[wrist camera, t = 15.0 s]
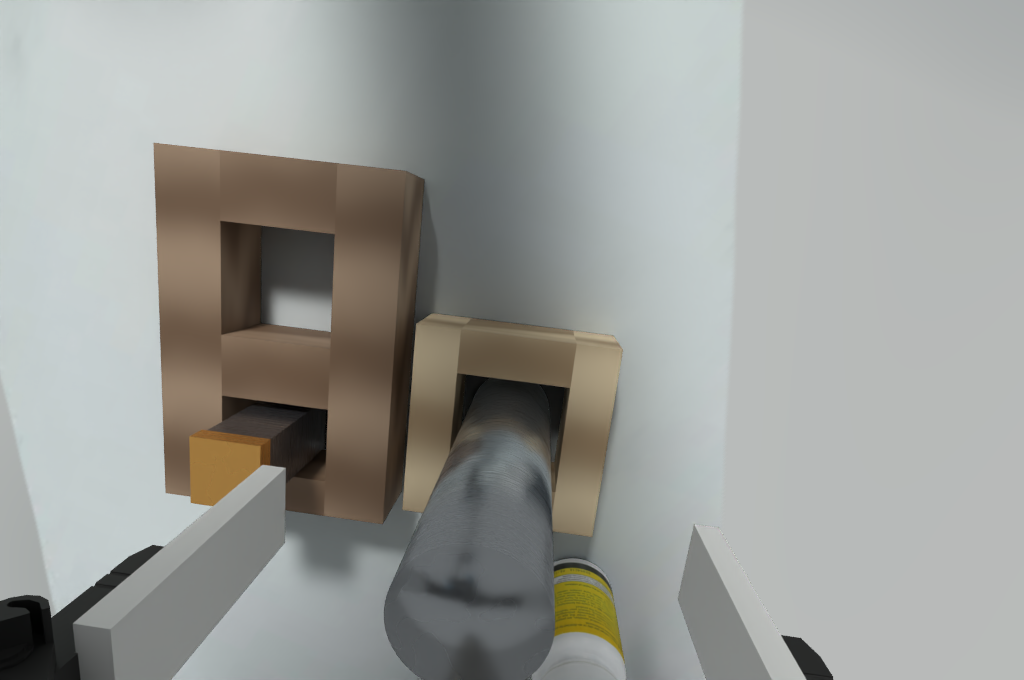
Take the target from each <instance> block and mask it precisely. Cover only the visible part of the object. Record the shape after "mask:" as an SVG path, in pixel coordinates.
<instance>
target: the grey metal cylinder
mask: <svg viewBox="0 0 1024 680" xmlns="http://www.w3.org/2000/svg"><path fill="white" fill-rule="evenodd" d="M384 623H385V629H386V632H387V636H388V639H389V641H390V643H391V645H392V648H393V649H394V651H395V652H396V654H397V656H398V657H399V658H400V659H401V661H402V662H403V663H404V664H405V665H406V666H407V667H408V668H409V669H410V670H411V671H412V672H413V673H415V674H416V675H417V676H419V677H420V678H421V679H423V680H526V679H527V678H529V677H530V676H531V675H532V674H533V673H534V672H536V671H537V670H538V668H539V667H540V666H541V665H542V663H543V662H544V661H545V659H546V657H547V656H548V654H549V651H550V649H551V646H552V643H553V639H554V634H555V601H554V563H553V525H552V487H551V449H550V411H549V402H548V399H547V396H546V394H545V392H544V391H543V389H542V388H541V387H540V385H539V384H537V383H529V382H521V381H513V380H506V379H498V378H489V379H488V380H486V381H485V382H484V383H483V384H482V385H481V386H480V387H479V389H478V390H477V392H476V394H475V396H474V399H473V401H472V403H471V405H470V408H469V410H468V412H467V414H466V417H465V419H464V421H463V423H462V426H461V428H460V430H459V433H458V435H457V437H456V439H455V442H454V444H453V446H452V448H451V451H450V453H449V455H448V457H447V460H446V462H445V464H444V466H443V469H442V471H441V473H440V475H439V478H438V480H437V482H436V484H435V487H434V489H433V491H432V493H431V496H430V498H429V500H428V503H427V505H426V507H425V509H424V512H423V514H422V516H421V518H420V521H419V523H418V525H417V527H416V530H415V532H414V534H413V536H412V539H411V541H410V543H409V545H408V548H407V550H406V552H405V554H404V557H403V559H402V561H401V563H400V566H399V568H398V570H397V573H396V575H395V577H394V579H393V582H392V584H391V586H390V588H389V591H388V594H387V597H386V600H385V607H384Z"/></svg>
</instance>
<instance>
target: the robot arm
mask: <svg viewBox="0 0 1024 680" xmlns="http://www.w3.org/2000/svg"><path fill="white" fill-rule="evenodd" d="M285 482H286V468H283V467H276V466H268V465H262V466H260V467H259V468H258V469H257V470H256V471H254V472H253V473H252V474H251V475H250V476H249V477H247V478H246V479H245V480H244V481H243V482H241V483H240V484H239V485H238V486H237V487H235V488H234V489H233V490H232V491H231V492H229V493H228V494H227V495H226V496H225V497H223V498H222V499H221V500H220V501H219V502H217V503H216V504H215V505H214V506H213V507H211V508H210V509H209V510H208V511H207V512H205V513H204V514H203V515H202V516H201V517H199V518H198V519H197V520H196V521H195V522H193V523H192V524H191V525H190V526H189V527H188V528H186V529H185V530H184V531H183V532H182V533H180V534H179V535H178V536H177V537H176V538H174V539H173V540H172V541H171V542H170V543H168V544H167V545H166V546H165V547H163V546H156V545H152V546H150V547H148V548H146V549H144V550H142V551H140V552H137V553H135V554H133V555H131V556H129V557H128V558H127V559H125V560H124V561H123V562H122V563H120V564H119V565H118V566H117V567H115V568H114V569H113V570H112V571H111V572H110V574H106V575H105V576H104V577H103V578H101V579H100V580H99V581H98V582H96V583H95V586H94V587H93V586H91V587H90V588H89V589H87V590H86V591H85V592H84V593H82V594H81V595H80V596H79V597H77V598H76V599H75V600H74V601H72V602H71V603H70V604H68V605H67V606H66V607H65V608H63V609H62V610H61V611H60V612H58V613H57V614H56V615H54V616H53V617H52V618H51V612H50V606H49V602H48V600H47V599H45V598H43V597H41V596H33V595H24V596H19V597H13V598H8V599H6V600H2V601H0V680H171V679H172V678H173V677H174V676H175V674H176V673H177V672H178V671H179V670H180V668H181V667H182V666H183V665H184V664H185V662H186V661H187V660H188V659H189V658H190V656H191V655H192V654H193V653H194V652H195V650H196V649H197V648H198V647H199V646H200V644H201V643H202V642H203V641H204V639H205V638H206V637H207V636H208V635H209V633H210V632H211V631H212V630H213V629H214V627H215V626H216V625H217V624H218V623H219V621H220V620H221V619H222V618H223V617H224V615H225V614H226V613H227V612H228V611H229V609H230V608H231V607H232V606H233V605H234V603H235V602H236V601H237V600H238V599H239V597H240V596H241V595H242V594H243V592H244V591H245V590H246V589H247V588H248V586H249V585H250V584H251V583H252V582H253V580H254V579H255V578H256V577H257V576H258V574H259V573H260V572H261V571H262V570H263V568H264V567H265V566H266V565H267V564H268V562H269V561H270V560H271V559H272V558H273V556H274V555H275V554H276V553H277V551H278V550H279V549H280V548H281V547H282V545H283V544H284V543H285ZM678 601H679V604H680V607H681V610H682V613H683V616H684V618H685V621H686V624H687V627H688V630H689V632H690V635H691V638H692V641H693V644H694V647H695V649H696V652H697V655H698V658H699V661H700V664H701V666H702V669H703V672H704V675H705V678H706V680H833V676H832V674H831V673H830V671H829V670H828V668H827V667H826V665H825V663H824V662H823V660H822V659H821V657H820V656H819V655H818V654H817V653H816V652H815V651H814V650H812V649H811V648H810V647H809V646H808V645H807V644H806V643H805V642H804V641H803V640H802V639H801V638H796V637H790V636H783V635H780V633H779V631H778V630H777V628H776V626H775V624H774V622H773V621H772V619H771V617H770V615H769V614H768V612H767V610H766V609H765V607H764V605H763V603H762V602H761V600H760V598H759V596H758V595H757V593H756V591H755V590H754V588H753V586H752V585H751V582H750V581H749V579H748V577H747V576H746V574H745V572H744V570H743V569H742V567H741V565H740V563H739V562H738V560H737V558H736V556H735V555H734V553H733V551H732V549H731V548H730V546H729V545H728V543H727V541H726V539H725V538H724V536H723V534H722V532H721V530H720V529H719V528H718V527H711V526H704V525H697V524H694V527H693V532H692V536H691V541H690V545H689V550H688V555H687V559H686V564H685V568H684V573H683V577H682V582H681V586H680V591H679V595H678Z"/></svg>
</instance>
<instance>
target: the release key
mask: <svg viewBox="0 0 1024 680" xmlns="http://www.w3.org/2000/svg"><path fill="white" fill-rule="evenodd" d="M325 422H326V409H318V408H311V407H303V406H296V405H288V404H281V403H274V402H266V401H258V402H256V403H254V404H252V405H251V406H249V407H247V408H245V409H244V410H242V411H240V412H238V413H237V414H235V415H233V416H231V417H229V418H228V419H226V420H224V421H222V422H221V423H219V424H217V425H215V426H214V427H212V428H210V429H208V430H200V431H198V432H196V433H195V434H193V435H191V436H189V446H190V489H191V503H195V504H202V505H209V506H214V505H215V504H216V503H217V502H219V501H220V500H221V499H222V498H223V497H225V496H226V495H227V494H228V493H229V492H231V491H232V490H233V489H234V488H235V487H237V486H238V485H239V484H240V483H241V482H243V481H244V480H245V479H246V478H247V477H249V476H250V475H251V474H252V473H253V472H254V471H256V470H257V469H258V468H259V467H260V466H262V465H268V466H276V467H283V468H286V482H285V484H286V483H288V482H289V481H290V480H291V479H292V478H293V477H294V476H295V475H296V474H297V473H298V472H299V471H300V470H301V469H302V468H303V467H305V466H306V465H307V464H308V463H309V462H310V461H311V460H312V459H313V458H314V457H315V456H316V455H317V454H318V453H319V452H320V451H322V450H323V449H324V448H325Z"/></svg>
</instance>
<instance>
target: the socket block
mask: <svg viewBox="0 0 1024 680" xmlns="http://www.w3.org/2000/svg"><path fill="white" fill-rule="evenodd" d="M154 169H155V198H156V227H157V256H158V285H159V313H160V342H161V371H162V400H163V429H164V458H165V487H166V493H170V494H177V495H184V496H191V489H190V446H189V436H191V435H193V434H195V433H196V432H198V431H200V430H208V429H210V428H212V427H214V426H215V425H217V424H219V423H221V422H222V421H224V420H226V419H228V418H229V417H231V416H233V415H235V414H237V413H238V412H240V411H242V410H244V409H245V408H247V407H249V406H251V405H252V404H254V403H256V402H258V401H266V402H274V403H281V404H288V405H296V406H303V407H311V408H318V409H326V410H328V422H327V448H326V450H322V451H320V452H319V453H318V454H317V455H316V456H315V457H314V458H313V459H312V460H311V461H310V462H309V463H308V464H307V465H306V466H305V467H303V468H302V469H301V470H300V471H299V472H298V473H297V474H296V475H295V476H294V477H293V478H292V479H291V480H290V481H289V482H288V483H286V484H285V510H288V511H295V512H302V513H308V514H315V515H322V516H329V517H336V518H343V519H350V520H357V521H364V522H371V523H378V524H383V523H384V521H385V519H386V517H387V516H388V514H389V512H390V510H391V509H392V507H393V505H394V504H395V502H396V500H397V498H398V497H399V495H400V493H401V491H402V478H403V464H404V450H405V437H406V423H407V410H408V396H409V382H410V369H411V355H412V342H413V328H414V315H415V301H416V287H417V274H418V260H419V247H420V233H421V219H422V206H423V192H424V179H422V178H420V177H417V176H415V175H413V174H411V173H409V172H407V171H401V170H392V169H384V168H375V167H366V166H357V165H348V164H339V163H330V162H321V161H312V160H303V159H294V158H285V157H276V156H267V155H258V154H249V153H240V152H231V151H222V150H213V149H204V148H195V147H186V146H177V145H168V144H159V143H154ZM261 226H270V227H278V228H287V229H295V230H304V231H312V232H320V233H329V234H335V240H334V266H333V292H332V318H331V332H326V331H318V330H310V329H302V328H294V327H287V326H279V325H271V324H263V323H261Z"/></svg>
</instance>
